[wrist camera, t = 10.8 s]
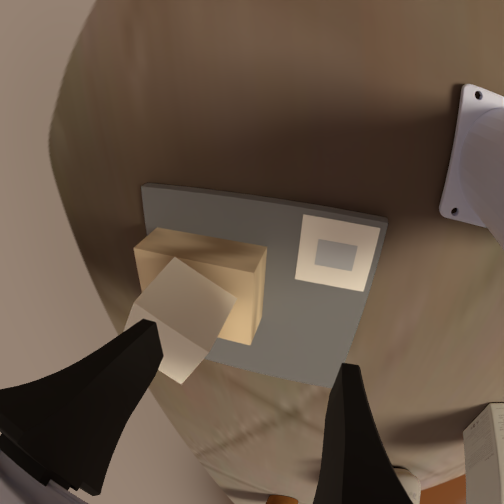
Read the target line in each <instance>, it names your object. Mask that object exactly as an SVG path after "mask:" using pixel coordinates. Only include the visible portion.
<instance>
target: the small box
mask: <svg viewBox="0 0 504 504" xmlns="http://www.w3.org/2000/svg"><path fill="white" fill-rule="evenodd" d="M463 439H464V451H465V469H466V504H504V403H490V404H489V405H488V406H487V407H486V408H485V409H484V410H483V411H482V412H481V413H480V414H479V415H478V416H477V418H476V419H475V420H474V421H473V422H472V423H471V424H470V425H469V426H468V427H467V428H466V429H465V430H464V431H463Z"/></svg>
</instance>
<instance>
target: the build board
mask: <svg viewBox="0 0 504 504" xmlns="http://www.w3.org/2000/svg"><path fill="white" fill-rule="evenodd" d="M141 191H142V200H143V209H144V217H145V225H146V233H147V236H148V235H149V234H150V233H151V232H152V231H153V230H155V229H156V228H157V227H158V228H163V229H169V230H175V231H181V232H187V233H192V234H198V235H204V236H209V237H215V238H221V239H226V240H232V241H238V242H243V243H249V244H255V245H260V246H266V247H267V257H266V270H265V284H264V297H263V310H262V318H261V320H260V323H259V325H258V328H257V330H256V333H255V335H254V338H253V340H252V343H251V345H246V344H242V343H238V342H234V341H230V340H226V339H222V338H218V337H217V338H216V340H215V342H214V344H213V346H212V348H211V350H210V352H209V353H208V354H207V356H206V357H205V358H204V359H207V360H211V361H214V362H218V363H222V364H225V365H229V366H233V367H236V368H240V369H244V370H248V371H252V372H256V373H260V374H265V375H269V376H273V377H278V378H282V379H287V380H292V381H296V382H301V383H306V384H311V385H317V386H322V387H328V388H332V387H333V385H334V382H335V380H336V377H337V374H338V372H339V369H340V366H341V364H342V363H345V360H346V357H347V355H348V352H349V349H350V347H351V344H352V341H353V339H354V336H355V333H356V330H357V327H358V325H359V322H360V319H361V316H362V313H363V310H364V307H365V304H366V301H367V297H368V294H369V291H370V288H371V285H372V281H373V278H374V275H375V271H376V268H377V264H378V261H379V257H380V254H381V250H382V246H383V242H384V238H385V235H386V231H387V227H388V220H387V218H386V217H381V216H376V215H371V214H366V213H361V212H355V211H350V210H344V209H339V208H333V207H327V206H321V205H315V204H309V203H303V202H297V201H291V200H284V199H277V198H271V197H264V196H257V195H250V194H242V193H235V192H227V191H219V190H211V189H203V188H194V187H185V186H176V185H166V184H156V183H146V184H144V185H143V186H141Z"/></svg>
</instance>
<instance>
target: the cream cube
mask: <svg viewBox="0 0 504 504" xmlns="http://www.w3.org/2000/svg"><path fill="white" fill-rule="evenodd" d="M236 300H237V298H236V297H235V296H233V295H232V294H230V293H229V292H227V291H225V290H224V289H222V288H221V287H219V286H218V285H216V284H215V283H213V282H212V281H210V280H209V279H207V278H206V277H204V276H203V275H201V274H200V273H198V272H197V271H195V270H194V269H192V268H191V267H189V266H188V265H186V264H185V263H183V262H182V261H180V260H179V259H177V258H176V257H174V258H173V259H172V260H171V261H170V262H169V263H168V264H167V265H166V267H165V268H164V269H163V270H162V271H161V272H160V273H159V274H158V275H157V277H156V278H155V279H154V280H153V281H152V282H151V283H150V284H149V286H148V287H147V288H146V289H145V290H144V291H143V292H142V293H141V295H140V296H139V297H138V298H137V299H136V300H135V301H134V303H133V306H132V309H131V312H130V314H129V317H128V320H127V323H126V326H125V329H124V331H126V330H127V329H129V328H130V327H132V326H133V325H134V324H136V323H137V322H139V321H140V320H142V319H143V318H144V319H147V320H150V321H154V322H156V324H157V329H158V333H159V338H160V342H161V346H162V350H163V355H164V356H163V359H162V361H161V363H160V366H159V368H158V370H159V371H161V372H163V373H164V374H166V375H167V376H169V377H170V378H172V379H174V380H175V381H177V382H178V383H180V384H182V383H183V382H184V381H185V380H186V378H187V377H188V376H189V375H190V374H191V373H192V372H193V371H194V369H195V368H196V367H197V366H198V365H199V364H200V362H201V361H202V360H203V359H204V358H205V357H206V356H207V354H208V353H209V352H210V350H211V348H212V346H213V344H214V342H215V340H216V338H217V337H218V335H219V333H220V331H221V329H222V327H223V325H224V323H225V321H226V319H227V317H228V316H229V314H230V312H231V310H232V308H233V306H234V304H235V302H236Z"/></svg>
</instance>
